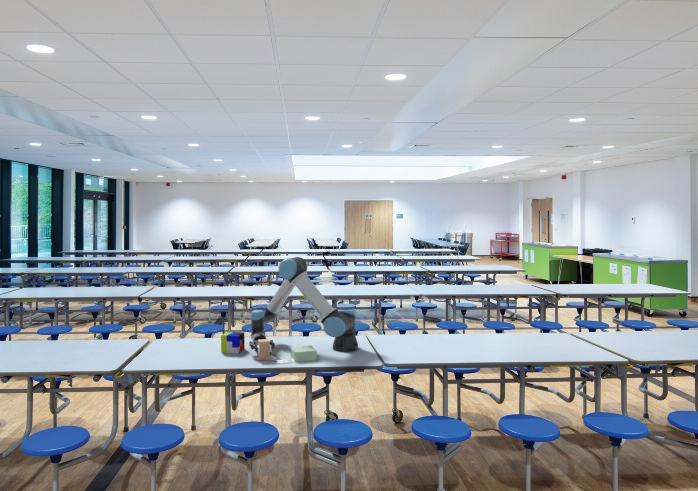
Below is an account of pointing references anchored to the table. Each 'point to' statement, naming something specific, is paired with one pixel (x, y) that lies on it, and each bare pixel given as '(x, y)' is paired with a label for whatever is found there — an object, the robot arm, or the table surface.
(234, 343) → the puzzle toy
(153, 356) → the table surface
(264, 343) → the brick
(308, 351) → the base block
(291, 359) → the page
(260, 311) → the robot arm
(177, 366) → the table surface
